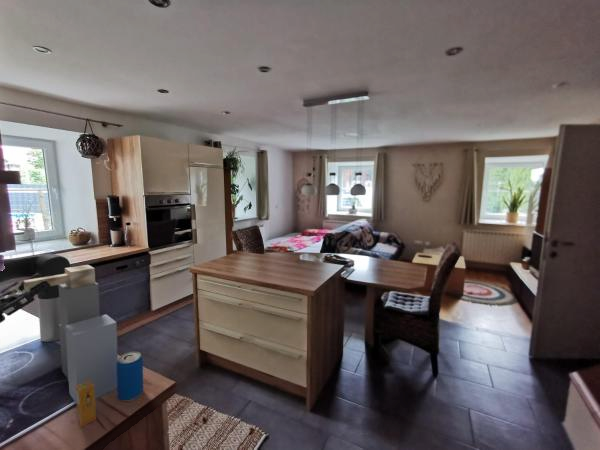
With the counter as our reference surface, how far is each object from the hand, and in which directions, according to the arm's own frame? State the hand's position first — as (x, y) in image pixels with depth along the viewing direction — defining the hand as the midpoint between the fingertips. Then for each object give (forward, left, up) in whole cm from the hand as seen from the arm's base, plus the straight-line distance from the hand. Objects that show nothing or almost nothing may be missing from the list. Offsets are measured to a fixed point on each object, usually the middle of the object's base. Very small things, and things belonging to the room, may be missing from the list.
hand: (44, 279), depth 80 cm
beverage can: (+22, +13, -34) cm, 42 cm away
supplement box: (+23, +2, -34) cm, 41 cm away
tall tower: (0, +8, -33) cm, 34 cm away
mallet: (0, +4, -3) cm, 5 cm away
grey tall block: (+12, +7, -33) cm, 36 cm away
